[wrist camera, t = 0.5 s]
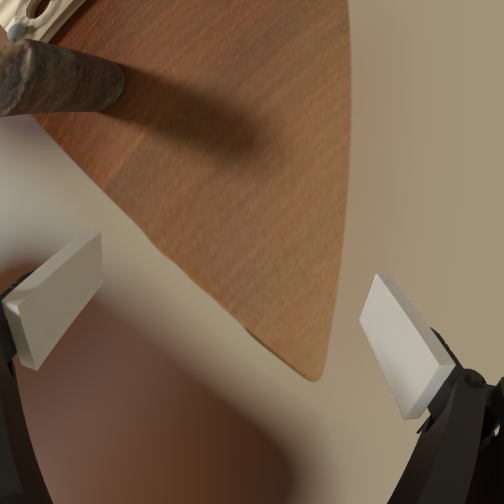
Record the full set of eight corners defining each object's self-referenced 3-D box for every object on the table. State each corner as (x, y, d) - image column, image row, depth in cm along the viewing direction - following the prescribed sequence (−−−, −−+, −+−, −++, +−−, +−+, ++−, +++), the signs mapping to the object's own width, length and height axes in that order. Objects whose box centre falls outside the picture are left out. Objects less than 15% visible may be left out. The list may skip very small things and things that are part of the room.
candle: (102, 123, 36) (3, 132, 18) (70, 96, 34) (-33, 94, 16) (136, 77, 34) (48, 49, 15) (101, 51, 32) (7, 19, 14)
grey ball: (17, 27, 26) (6, 24, 24) (30, 23, 27) (19, 19, 24) (13, 44, 28) (1, 42, 25) (26, 40, 28) (15, 37, 25)
